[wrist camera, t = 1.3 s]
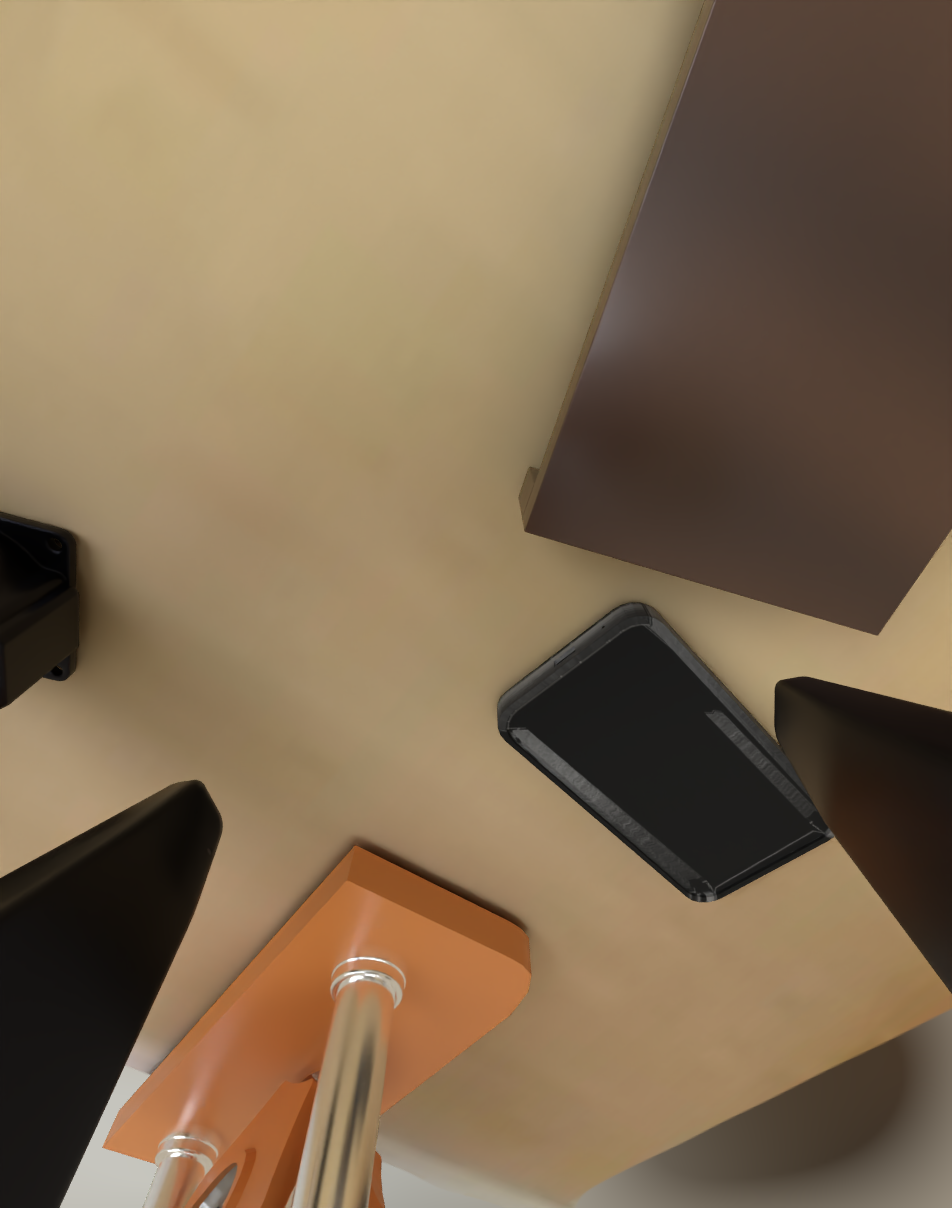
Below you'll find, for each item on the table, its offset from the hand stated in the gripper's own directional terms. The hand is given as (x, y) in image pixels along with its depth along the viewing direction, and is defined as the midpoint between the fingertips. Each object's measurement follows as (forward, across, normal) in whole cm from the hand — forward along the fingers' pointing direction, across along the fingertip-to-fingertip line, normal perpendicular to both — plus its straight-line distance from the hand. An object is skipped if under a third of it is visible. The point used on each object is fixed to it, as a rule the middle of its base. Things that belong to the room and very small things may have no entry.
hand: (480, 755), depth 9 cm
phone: (+13, +6, -13) cm, 19 cm away
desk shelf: (+13, +11, +5) cm, 18 cm away
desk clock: (+13, -16, -29) cm, 36 cm away
